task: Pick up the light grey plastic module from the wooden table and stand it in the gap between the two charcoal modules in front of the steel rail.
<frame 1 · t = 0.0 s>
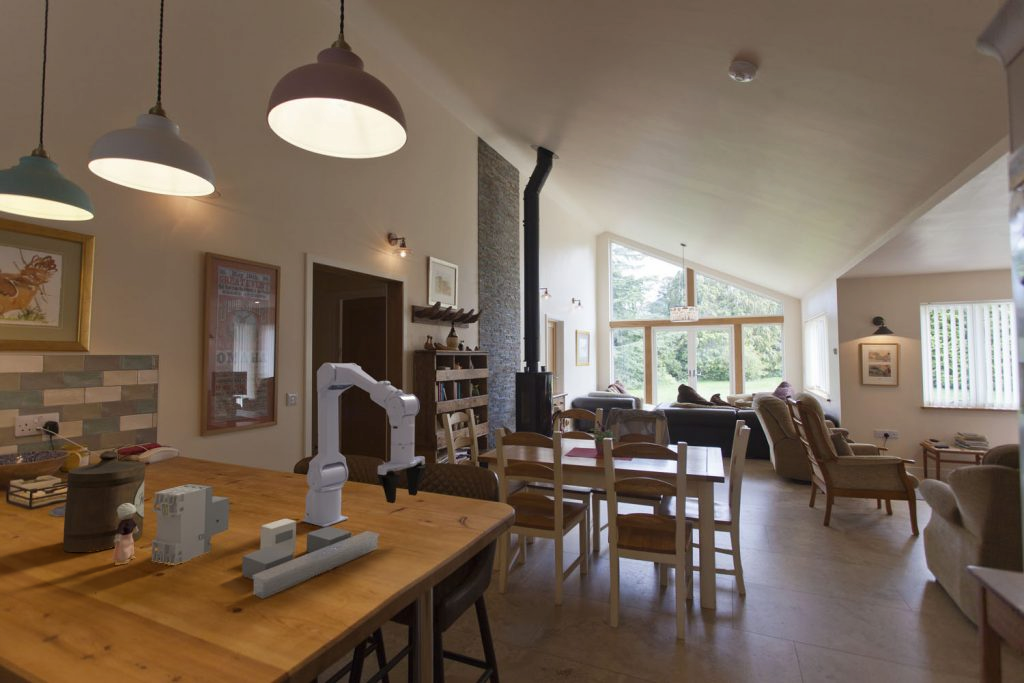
hand: (402, 498, 117), 10 cm above the table, tool pointing down, fingers open, 7 cm apart
grandmother figurine: (123, 563, 104), on the table
mounted modules: (300, 561, 104), on the table
circuit breaker: (194, 552, 110), on the table
wooden container: (104, 542, 116), on the table
din rail: (322, 569, 100), on the table
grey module: (278, 554, 108), on the table
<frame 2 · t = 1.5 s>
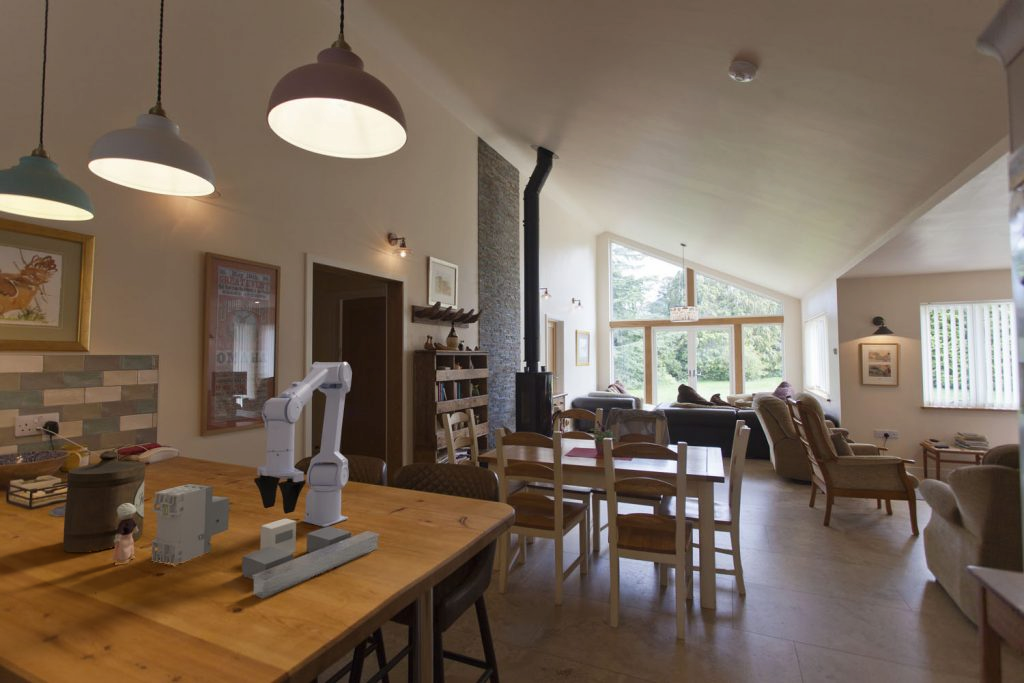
hand: (279, 509, 109), 10 cm above the table, tool pointing down, fingers open, 7 cm apart
nothing on the table moved.
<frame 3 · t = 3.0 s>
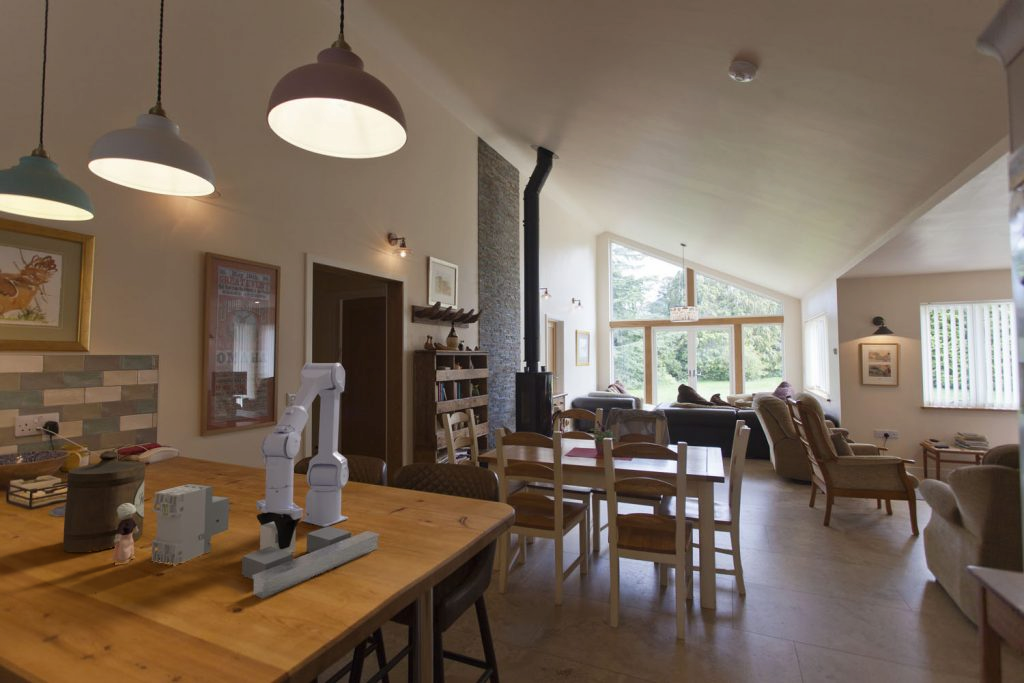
hand: (278, 545, 108), 2 cm above the table, tool pointing down, fingers closed on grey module, 4 cm apart
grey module: (277, 554, 108), on the table, touching gripper
everything else where it was.
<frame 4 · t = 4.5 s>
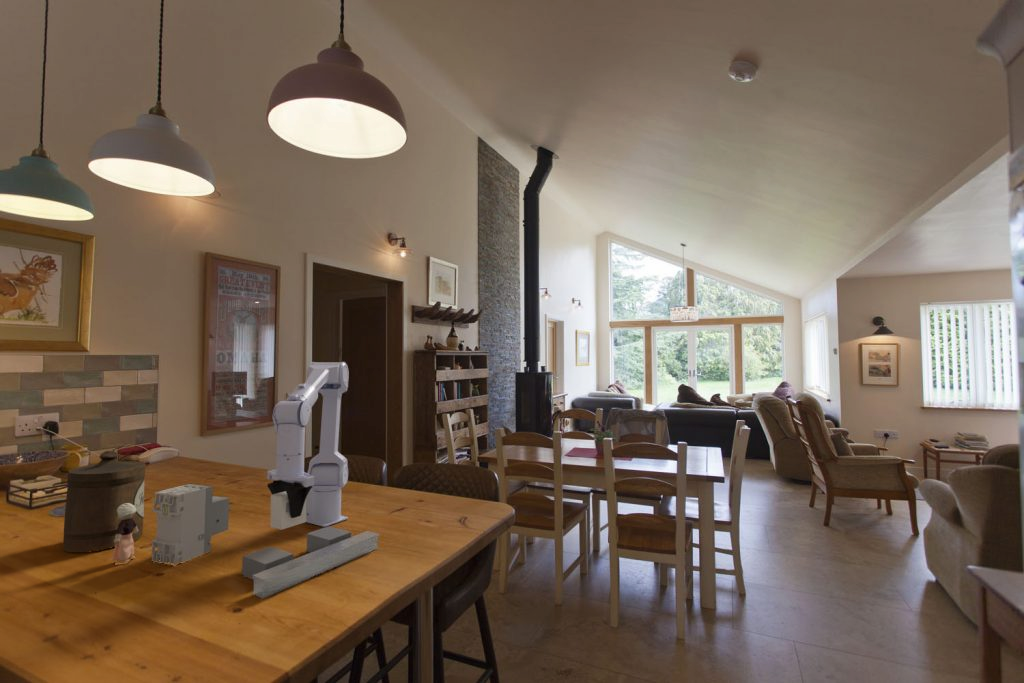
hand: (289, 514, 107), 9 cm above the table, tool pointing down, fingers closed on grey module, 4 cm apart
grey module: (288, 524, 106), point 7 cm above the table, touching gripper
everything else where it was.
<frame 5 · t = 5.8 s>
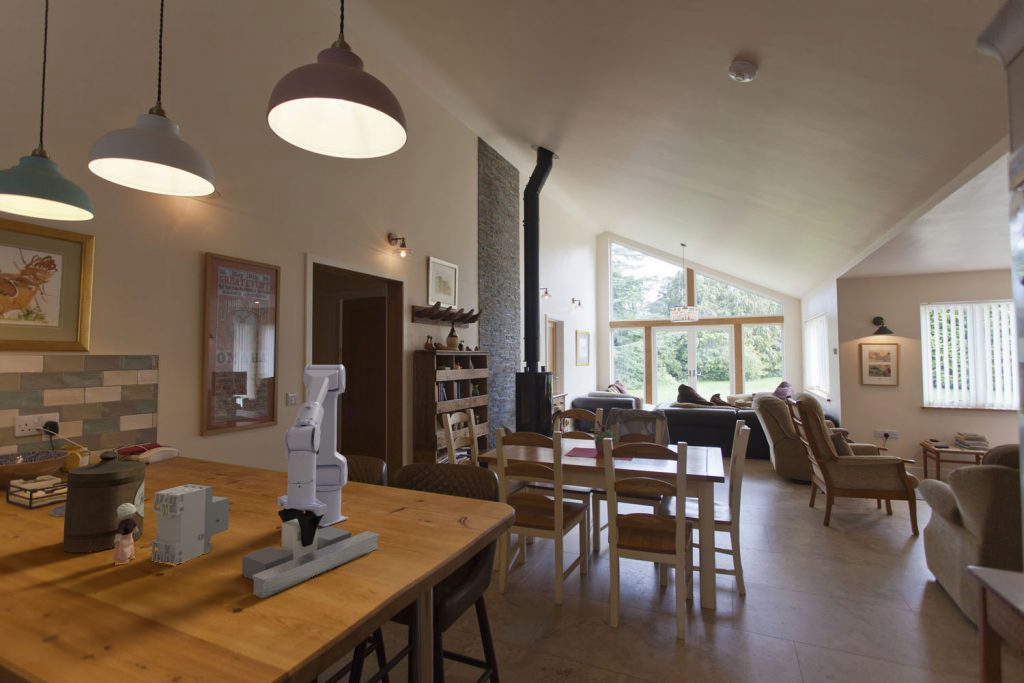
hand: (300, 543, 104), 4 cm above the table, tool pointing down, fingers closed on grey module, 4 cm apart
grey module: (299, 553, 104), point 2 cm above the table, touching gripper
everything else where it was.
when the fingers open (3 cm above the table, at t = 6.5 s): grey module stays where it is, on the table.
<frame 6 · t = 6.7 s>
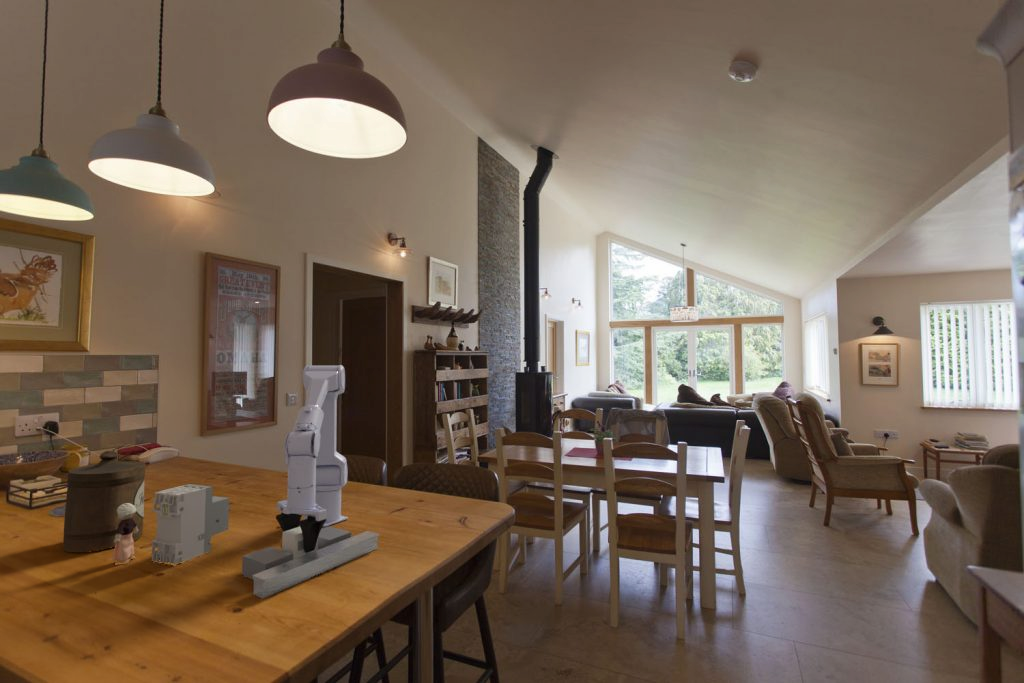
hand: (300, 548, 104), 3 cm above the table, tool pointing down, fingers open, 6 cm apart
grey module: (299, 562, 104), on the table
everything else where it was.
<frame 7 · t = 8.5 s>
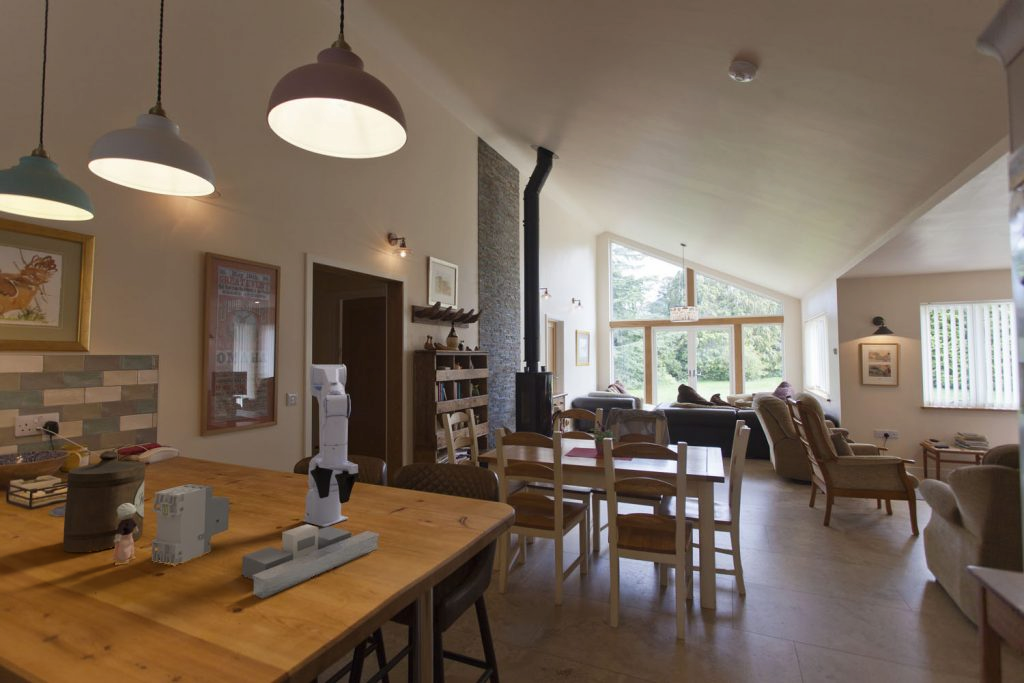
hand: (334, 499, 116), 10 cm above the table, tool pointing down, fingers open, 7 cm apart
nothing on the table moved.
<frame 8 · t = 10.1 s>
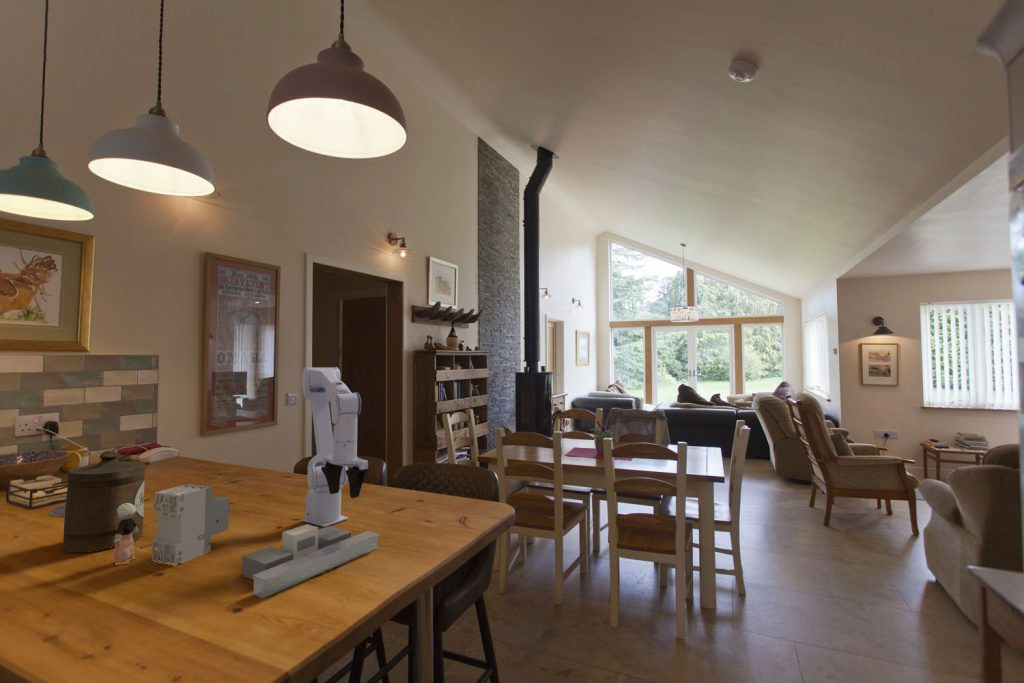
hand: (344, 495, 119), 10 cm above the table, tool pointing down, fingers open, 7 cm apart
nothing on the table moved.
at the end: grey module 0.0 cm from the target spot, on the table; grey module tilted 0°; the gripper is holding nothing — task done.
